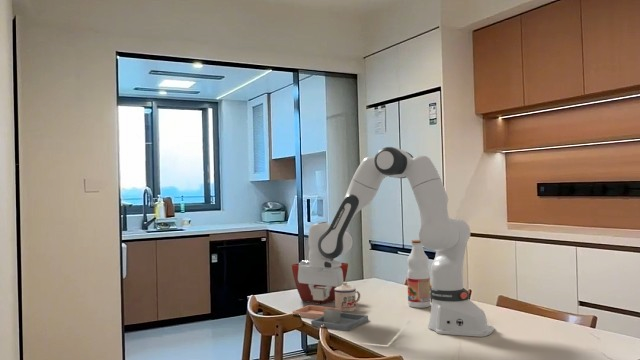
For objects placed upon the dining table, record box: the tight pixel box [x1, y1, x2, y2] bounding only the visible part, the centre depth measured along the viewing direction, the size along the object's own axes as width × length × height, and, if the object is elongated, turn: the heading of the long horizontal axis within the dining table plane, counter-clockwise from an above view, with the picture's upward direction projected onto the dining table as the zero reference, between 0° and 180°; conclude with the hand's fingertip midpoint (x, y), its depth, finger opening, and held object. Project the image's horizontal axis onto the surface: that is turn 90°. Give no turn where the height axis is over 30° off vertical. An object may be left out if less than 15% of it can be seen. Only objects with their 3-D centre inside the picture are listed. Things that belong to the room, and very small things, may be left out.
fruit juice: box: [406, 239, 431, 309], centre depth 222 cm, size 9×9×28 cm
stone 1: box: [313, 287, 328, 301], centre depth 212 cm, size 4×4×4 cm
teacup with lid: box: [334, 281, 361, 312], centre depth 219 cm, size 12×9×12 cm
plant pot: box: [291, 262, 349, 305], centre depth 238 cm, size 19×19×17 cm
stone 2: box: [324, 307, 341, 323], centre depth 197 cm, size 4×4×4 cm
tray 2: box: [311, 311, 369, 332], centre depth 195 cm, size 15×16×2 cm
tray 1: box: [292, 304, 343, 320], centre depth 209 cm, size 16×12×2 cm
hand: (320, 295), depth 212 cm, fingers closed on stone 1, 5 cm apart
